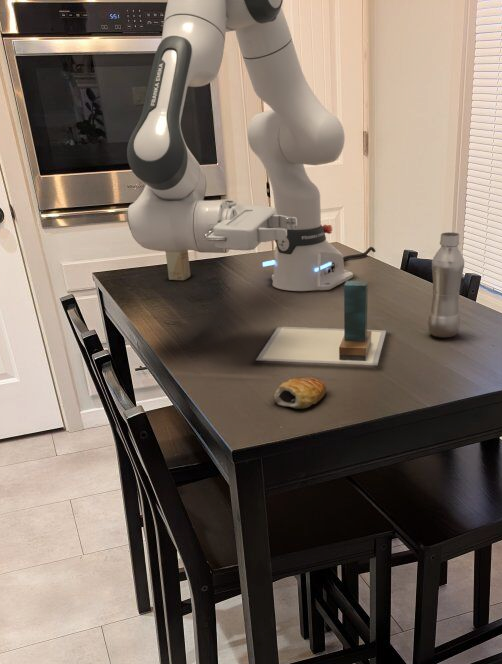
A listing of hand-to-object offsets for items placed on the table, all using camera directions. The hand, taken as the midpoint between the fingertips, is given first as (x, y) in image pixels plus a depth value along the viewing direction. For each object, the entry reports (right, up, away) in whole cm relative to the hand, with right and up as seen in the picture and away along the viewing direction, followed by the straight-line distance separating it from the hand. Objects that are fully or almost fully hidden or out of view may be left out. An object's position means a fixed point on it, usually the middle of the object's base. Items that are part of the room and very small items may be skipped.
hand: (291, 228), depth 129 cm
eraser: (+12, -20, +10) cm, 25 cm away
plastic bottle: (+30, -15, +20) cm, 39 cm away
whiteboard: (+6, -18, +14) cm, 24 cm away
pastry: (+2, -32, -7) cm, 33 cm away
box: (-33, +11, +62) cm, 71 cm away
